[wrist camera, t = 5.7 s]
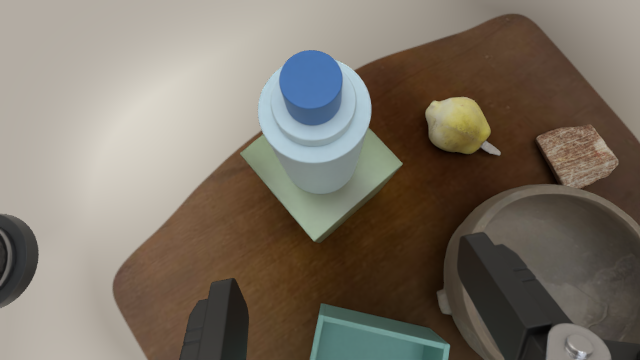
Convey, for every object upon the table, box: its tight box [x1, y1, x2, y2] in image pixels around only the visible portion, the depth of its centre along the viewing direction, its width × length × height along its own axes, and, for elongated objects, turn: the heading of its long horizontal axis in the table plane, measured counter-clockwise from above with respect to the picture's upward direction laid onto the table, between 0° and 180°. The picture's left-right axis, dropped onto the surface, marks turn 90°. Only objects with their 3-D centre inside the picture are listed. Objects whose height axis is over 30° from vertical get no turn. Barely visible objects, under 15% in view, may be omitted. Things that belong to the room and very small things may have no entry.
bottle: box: [258, 50, 371, 194], centre depth 20 cm, size 6×6×13 cm
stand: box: [240, 127, 402, 243], centre depth 34 cm, size 9×9×14 cm
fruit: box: [425, 97, 501, 156], centre depth 39 cm, size 6×6×10 cm
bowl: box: [436, 184, 640, 360], centre depth 33 cm, size 17×18×10 cm
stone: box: [535, 125, 618, 189], centre depth 38 cm, size 7×6×5 cm
